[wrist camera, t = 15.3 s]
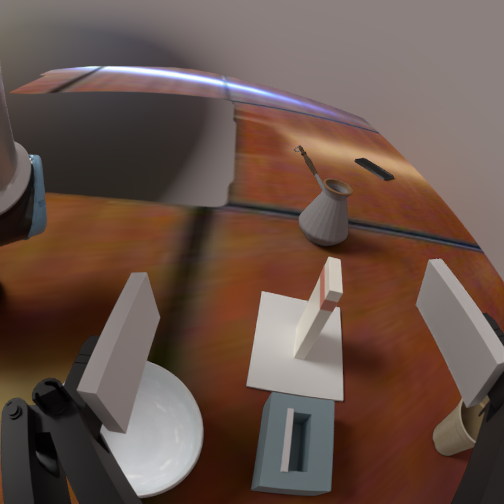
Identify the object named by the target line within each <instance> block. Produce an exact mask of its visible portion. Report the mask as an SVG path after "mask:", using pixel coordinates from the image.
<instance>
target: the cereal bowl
mask: <svg viewBox="0 0 504 504" xmlns="http://www.w3.org/2000/svg"><path fill="white" fill-rule="evenodd" d="M63 386H64V384H63ZM203 430H204V428H203V420H202V416H201V412H200V410H199V407H198V405H197V403H196V401H195V399H194V397H193V395H192V394H191V392H190V391H189V389H188V388H187V387H186V386H185V385H184V384H183V382H182V381H181V380H179V379H178V378H177V377H176V376H175V375H173V374H172V373H171V372H169V371H168V370H166V369H164V368H163V367H161V366H159V365H156V364H154V363H151V362H149V361H146V364H145V367H144V371H143V374H142V378H141V381H140V385H139V388H138V392H137V395H136V399H135V402H134V406H133V409H132V413H131V417H130V421H129V424H128V428H127V432H126V434H123V433H117V432H111V431H108V430H107V429H106V428H105V426H104V425H103V424H102V427H101V430H100V432H101V433H102V435H103V436H104V438H105V440H106V442H107V444H108V446H109V448H110V450H111V452H112V454H113V455H114V457H115V459H116V461H117V463H118V464H119V466H120V468H121V470H122V471H123V473H124V475H125V476H126V478H127V480H128V481H129V483H130V484H131V486H132V488H133V489H134V491H135V492H136V494H137V496H138V497H139V498H146V497H152V496H156V495H158V494H162V493H164V492H166V491H168V490H170V489H172V488H174V487H175V486H177V485H178V484H179V483H181V482H182V480H184V479H185V478H186V477H187V476H188V474H189V473H190V472H191V470H192V469H193V468H194V466H195V465H196V462H197V461H198V458H199V456H200V453H201V449H202V444H203V438H204V437H203Z"/></svg>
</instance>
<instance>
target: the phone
mask: <svg viewBox="0 0 504 504" xmlns="http://www.w3.org/2000/svg"><path fill="white" fill-rule="evenodd" d="M355 162H356V163H357V164H359V165H361V166H362V167H364V168H365V169H367V170H369V171H370V172H372V173H373V174H375V175H376V176H378V177H380V178H381V179H383V180H385V181H387V180H390V179H393V178H394V176H393V175H391V174H390V173H388V172H387V171H385V170H383V169H382V168H380V167H379V166H377V165H375V164H374V163H372V162H370V161H369V160H367V159H365V158H360V159H355Z"/></svg>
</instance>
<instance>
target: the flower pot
mask: <svg viewBox="0 0 504 504" xmlns="http://www.w3.org/2000/svg"><path fill="white" fill-rule="evenodd" d="M488 402H489V398H488V396H487V395H486V397H485V398H484V399H483V401H482V402H481V403H480V404H477V405H474V406H471V407H468V408H466V405H465V403H464V401H463V398H462V399H461V401H460V403H459V404H458V406H457V407H456V408H455V409H454V410H453V411H452V412H451V413H450V414H449V415H448V416H447V417H446V418H445V419H444V420H443V421H442V422H441V423H440V424H438V425H437V427H436V428H435V430H434V433H433V441H434V443H435V448H436V450H437V451H438V452H439V453H440V454H442V455H445V456H450V455H453V454H456V453H459V452H462V451H464V450H467V449H470V448H473V447H474V445H475V442H476V439H477V436H478V433H479V430H480V426H481V423H482V419H483V416H484V413H483V414H482V415H481V416H480V417H479V416H478V415H479V413H480V411H481V410H482V409H483V408H484V407H485V405H486V404H487V403H488Z"/></svg>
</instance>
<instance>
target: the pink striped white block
mask: <svg viewBox="0 0 504 504" xmlns="http://www.w3.org/2000/svg"><path fill="white" fill-rule="evenodd" d="M342 293H343V291H342V276H341V262H340V259H336V258H332V257H328V259H327V262H326V264H325V266H324V267H323V270H322V272H321V274H320V277H319V280H318V282H317V284H316V286H315V288H314V291H313V293H312V295H311V297H310V299H309V301H308V304H307V306H306V308H305V310H304V312H303V314H302V316H301V318H300V321H299V323H298V325H297V328H296V339H295V349H294V358H297V359H302V360H304V359H305V357H306V356H307V354H308V353H309V351H310V349H311V348H312V346H313V344H314V343H315V341H316V339H317V337H318V336H319V334H320V332H321V331H322V329H323V327H324V326H325V324H326V322H327V320H328V319H329V317H330V315H331V313H332V312H333V311H334V309H335V307H336V305H337V303H338V301H339V299H340V297H341V295H342Z"/></svg>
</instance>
